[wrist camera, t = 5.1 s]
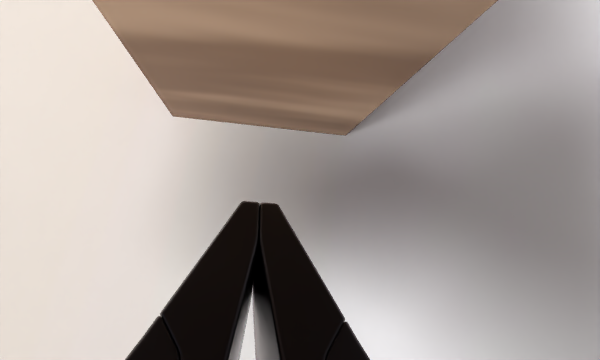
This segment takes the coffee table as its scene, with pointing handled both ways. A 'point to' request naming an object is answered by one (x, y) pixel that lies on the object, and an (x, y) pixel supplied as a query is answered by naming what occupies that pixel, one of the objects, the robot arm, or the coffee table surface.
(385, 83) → the walnut card box
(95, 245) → the coffee table surface
